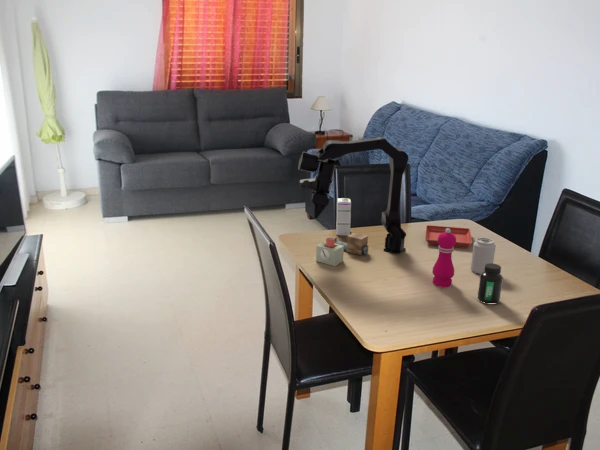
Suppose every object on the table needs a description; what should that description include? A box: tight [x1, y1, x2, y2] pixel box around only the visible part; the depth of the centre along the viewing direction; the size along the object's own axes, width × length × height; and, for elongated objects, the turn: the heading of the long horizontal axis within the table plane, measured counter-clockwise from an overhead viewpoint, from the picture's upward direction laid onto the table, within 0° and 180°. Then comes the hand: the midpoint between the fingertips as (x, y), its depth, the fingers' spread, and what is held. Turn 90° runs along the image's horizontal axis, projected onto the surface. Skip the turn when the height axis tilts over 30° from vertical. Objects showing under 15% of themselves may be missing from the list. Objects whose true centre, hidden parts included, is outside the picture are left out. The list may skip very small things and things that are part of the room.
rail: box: [333, 236, 369, 257], centre depth 230 cm, size 15×3×3 cm, turn 55°
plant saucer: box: [424, 224, 473, 249], centre depth 243 cm, size 18×18×3 cm
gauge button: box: [325, 237, 335, 248], centre depth 217 cm, size 3×3×4 cm
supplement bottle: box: [477, 262, 504, 304], centre depth 189 cm, size 7×7×12 cm
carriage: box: [346, 232, 369, 256], centre depth 227 cm, size 6×5×6 cm
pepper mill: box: [431, 228, 456, 288], centre depth 200 cm, size 7×7×20 cm
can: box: [470, 237, 496, 275], centre depth 212 cm, size 8×8×12 cm
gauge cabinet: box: [315, 240, 345, 267], centre depth 218 cm, size 8×6×6 cm
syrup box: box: [335, 197, 352, 236], centre depth 246 cm, size 6×6×14 cm
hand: (315, 214), depth 223 cm, fingers open, 9 cm apart
